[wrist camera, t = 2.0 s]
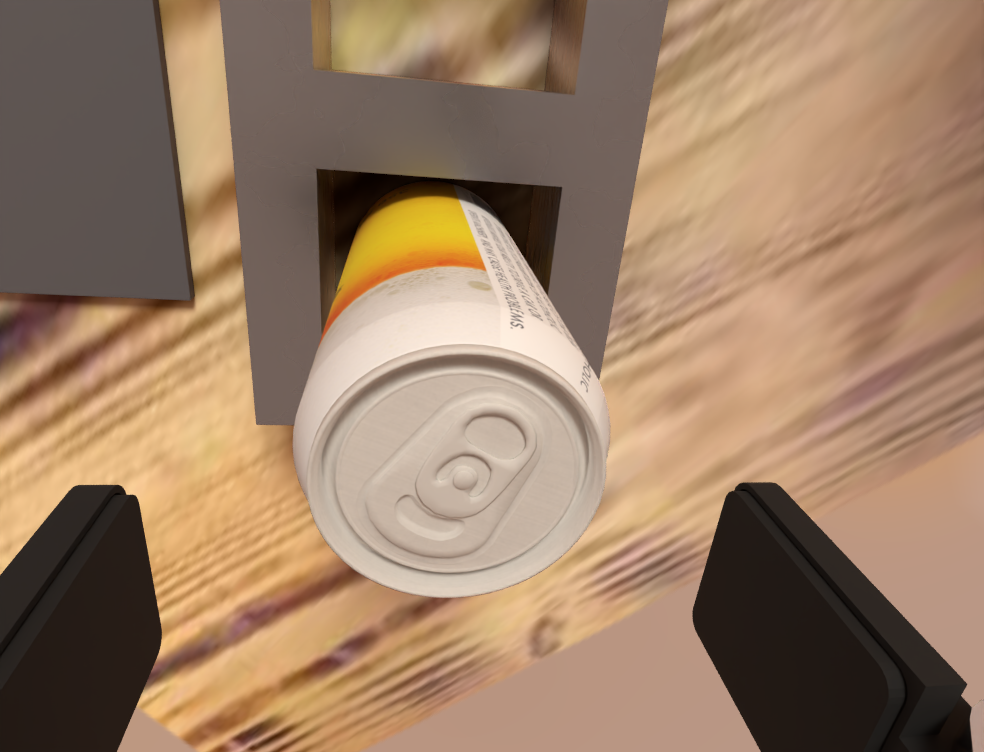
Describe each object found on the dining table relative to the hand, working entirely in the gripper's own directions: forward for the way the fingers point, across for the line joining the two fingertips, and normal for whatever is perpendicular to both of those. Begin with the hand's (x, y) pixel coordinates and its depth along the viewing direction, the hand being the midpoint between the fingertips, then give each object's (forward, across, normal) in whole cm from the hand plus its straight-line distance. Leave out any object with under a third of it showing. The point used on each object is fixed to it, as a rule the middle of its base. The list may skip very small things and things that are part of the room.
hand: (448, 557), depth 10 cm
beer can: (+16, 0, -1) cm, 16 cm away
